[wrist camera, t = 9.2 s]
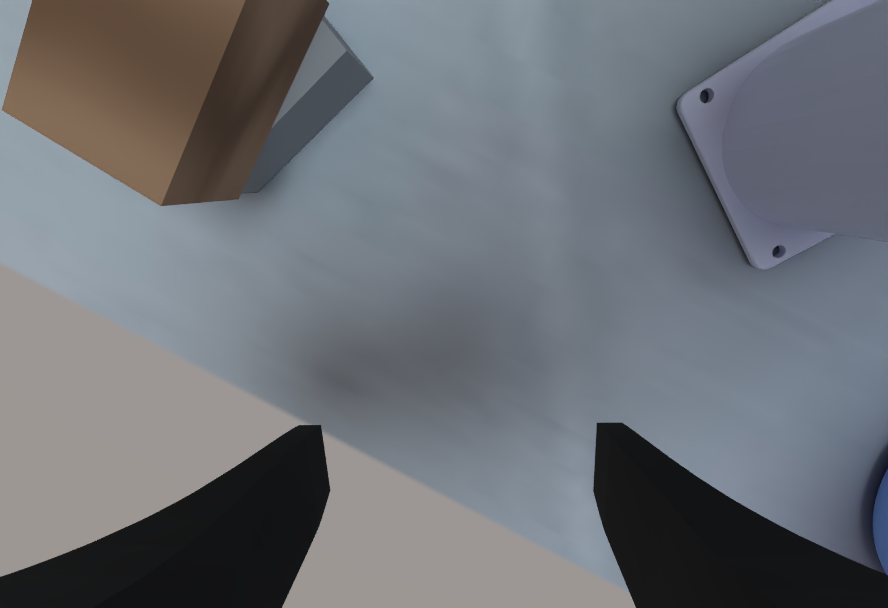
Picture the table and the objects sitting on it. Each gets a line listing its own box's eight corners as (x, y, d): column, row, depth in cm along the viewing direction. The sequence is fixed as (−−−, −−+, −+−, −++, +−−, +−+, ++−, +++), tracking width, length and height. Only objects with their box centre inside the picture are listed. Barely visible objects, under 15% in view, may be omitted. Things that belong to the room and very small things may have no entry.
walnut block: (199, -85, 13) (86, -193, 9) (329, 3, 14) (272, -65, 10) (122, 127, 15) (1, 109, 11) (238, 199, 15) (161, 206, 12)
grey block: (297, -19, 17) (245, -76, 13) (374, 78, 18) (346, 50, 14) (184, 108, 19) (108, 90, 15) (259, 192, 19) (206, 195, 15)
